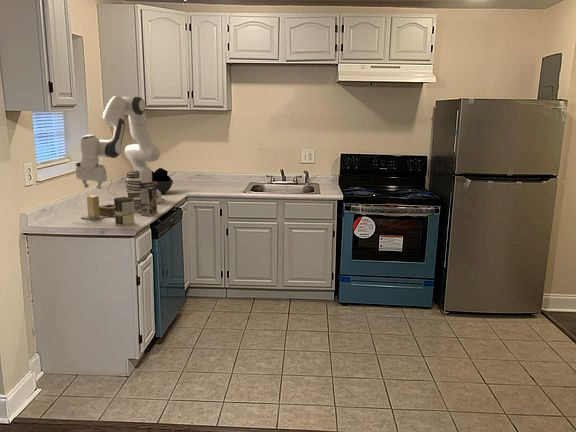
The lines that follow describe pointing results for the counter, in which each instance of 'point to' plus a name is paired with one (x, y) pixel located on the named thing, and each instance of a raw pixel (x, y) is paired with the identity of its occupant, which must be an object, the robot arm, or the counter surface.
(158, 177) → the coal bowl
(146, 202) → the coffee box
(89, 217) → the rubber mat
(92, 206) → the wooden square peg
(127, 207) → the coffee can
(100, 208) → the socket block
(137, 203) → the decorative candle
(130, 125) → the robot arm
